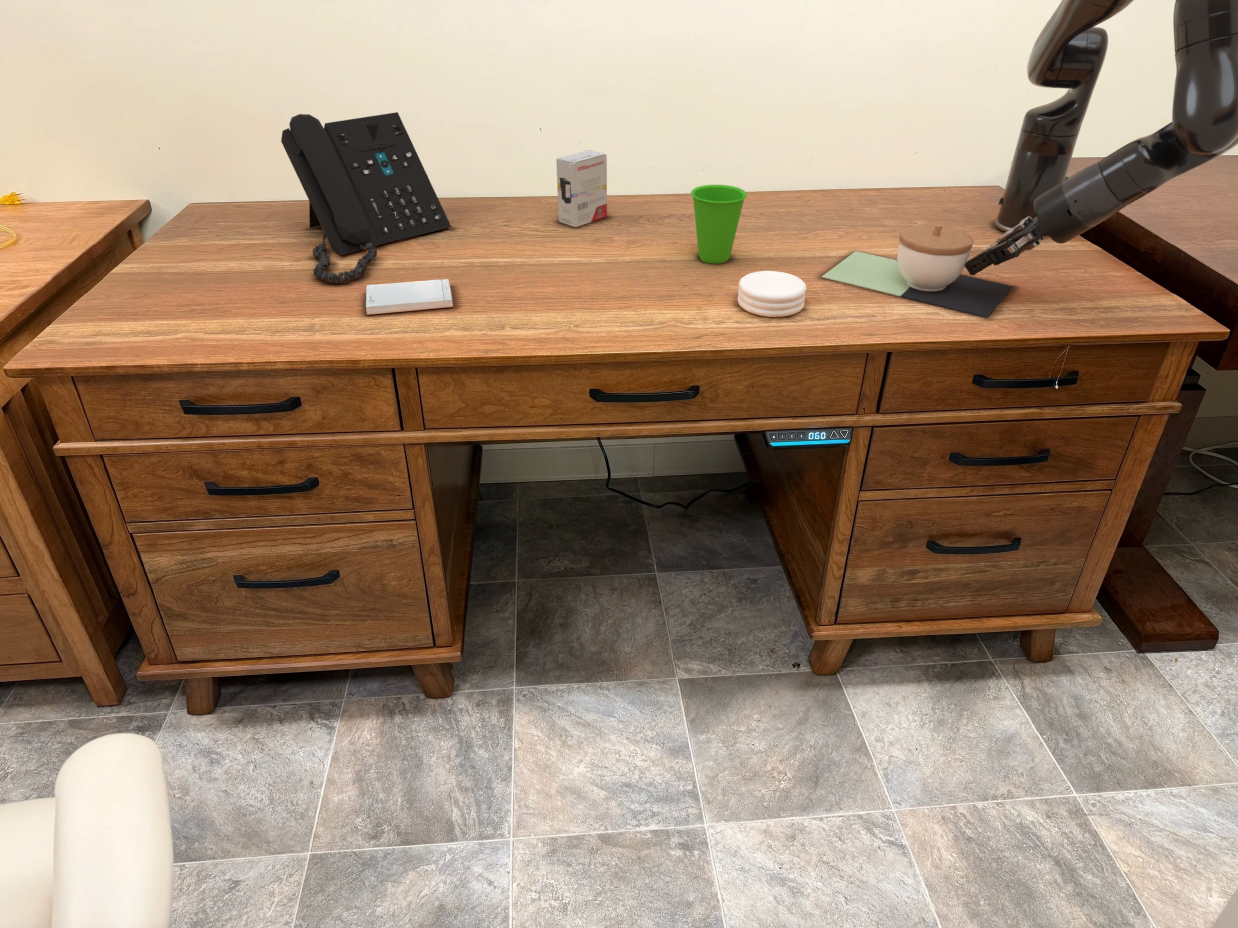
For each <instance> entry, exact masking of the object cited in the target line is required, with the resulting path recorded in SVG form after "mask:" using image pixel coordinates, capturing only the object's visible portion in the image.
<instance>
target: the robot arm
mask: <svg viewBox="0 0 1238 928" xmlns="http://www.w3.org/2000/svg"><path fill="white" fill-rule="evenodd" d="M1134 1H1135V0H1061V1H1060V3H1059V5H1058V6H1057V7H1056V8H1055V10H1054V11H1053V13H1052V15H1051V16H1050V18H1049V19H1048V21H1046V23H1045V25H1044V26H1043V28H1042V29H1041V31H1040V33H1039V34H1038V36H1037V38H1036V40H1035V41H1034V43H1033V46H1032V48H1031V52H1030V53H1029V57H1028V60H1027V65H1026V67H1027V68H1026V75H1027V76H1026V77H1027V78H1028V81H1029V82H1030V83H1031V84H1032V85H1034V86H1035V87H1040V88H1048V89H1049V88H1050V89H1065V90H1066V89H1067V90H1066V92H1065V93H1064V94H1063V95H1062V96H1061V97H1059V98H1057V99H1055V100H1053V101H1051V102H1049V103H1046V104H1043V105H1039V106H1035V107H1033V108H1030V109H1029V110H1027V111H1026V112H1025V113H1024V115H1023V119H1022V123H1021V126H1020V127H1021V128H1020V129H1019V130H1020V131H1019V134H1018V137H1017V141H1016V146H1015V150H1014V154H1013V157H1012V160H1011V166H1010V169H1009V172H1008V176H1007V179H1006V184H1005V186H1004V191H1003V195H1002V197H1001V198H999V200H998V206H999V210H998V214H997V217H996V219H995V222H994V226H995V227H996V228H997V229H999V230H1000V231H1002V232H1004V233H1003V234H1002V235H1001V236H1000V237H999V238H996V241H995V242H994V243H991V244H989V246H988V247H987V248H986V249H985V250H983V251H982V252H980V253H977V255H975V256H973V257H971V258H969V259H968V260H967V262H966V263H965V267H964V269H965V270H966V271H967V272H968V275H971V276H975V275H977V274H978V273H981V272H982V271H984V270H986V269H987V268H988V267H991V266H992V265H993V266H994V267H995V266H999V265H1001V264H1003V263H1005V262H1007V261H1011V260H1012V259H1014V258H1018V257H1020V255H1022V254H1023V253H1024V252H1026V251H1031V250H1033V249H1035V248H1036V247H1038V246H1039V245H1040V244H1041V242H1042V241H1043V240H1045V237H1046V236H1047V237H1049V238H1051V241H1053V242H1055V243H1057V244H1059V245H1062V244H1066V243H1068V242H1070V241H1071V240H1073V239H1075V238H1077V237H1078V236H1080V235H1082V234H1084V233H1085V232H1087V231H1089V230H1091V229H1092V228H1094V227H1096V226H1097V225H1099V224H1101V223H1103V222H1105V221H1107V220H1108V219H1110V218H1111V217H1113V216H1114V215H1116V214H1117V213H1119V212H1120V211H1122V209H1125V208H1126V207H1127V206H1129V205H1131V204H1132V203H1135V202H1136V201H1138V200H1139V199H1141V198H1144V196H1146V195H1149V194H1151V193H1152V192H1154V191H1155V190H1157V189H1158V188H1159V187H1161V186H1163V185H1164V184H1166V183H1167V182H1169V181H1171V180H1172V179H1174V178H1177V177H1178V176H1182V175H1183V174H1185V173H1188V172H1189V171H1191V170H1194V169H1196V168H1199V167H1200V166H1201V165H1204V164H1207V163H1208V162H1210V161H1212V160H1214V159H1216V158H1217V157H1220V156H1222V155H1223V154H1225V153H1227V152H1229V151H1230V150H1232V149H1233V148H1235V147H1236V146H1238V0H1175V2H1174V5H1173V14H1172V23H1173V45H1174V60H1175V69H1176V72H1175V79H1174V87H1173V96H1172V98H1173V100H1172V110H1171V111H1172V112H1171V121H1170V122H1169V123H1168V124H1166V125H1164V126H1163V127H1161V128H1159V129H1157V131H1154V132H1152V133H1151V134H1148V135H1146V136H1141V137H1138V138H1136V139H1134V140H1132V141H1130V142H1128V143H1126V144H1125V145H1123V146H1121V147H1120V148H1117V149H1116V150H1115V151H1113V152H1111V153H1110V154H1108V155H1107V156H1105V157H1103V158H1102V159H1100V160H1098V161H1097V162H1094V163H1093V164H1091V165H1088V166H1087V167H1084V168H1083V169H1081V170H1079V171H1077V172H1076V173H1074V174H1073V175H1071V176H1067V175H1068V170H1069V167H1070V164H1071V161H1072V157H1073V154H1074V151H1075V147H1076V143H1077V140H1078V136H1079V135H1080V131H1081V128H1082V125H1083V123H1084V120H1085V117H1086V114H1087V111H1088V108H1089V105H1090V102H1091V98H1092V97H1093V96H1092V95H1093V93H1094V90H1095V88H1096V84H1097V82H1098V80H1099V77H1100V74H1101V72H1102V68H1103V65H1104V62H1105V60H1106V56H1107V52H1108V49H1109V48H1108V47H1109V34H1108V31H1107V30H1106V29H1105V28H1103V27H1099V26H1098V25H1100V24H1102V23H1104V22H1106V21H1108V20H1109V19H1111V18H1112V17H1114V16H1116V15H1117V14H1119V13H1121V12H1122V11H1124V10H1125V9H1126V8H1127V7H1129V5H1131V4H1132V3H1133V2H1134Z"/></svg>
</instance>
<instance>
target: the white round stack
mask: <svg viewBox="0 0 1238 928" xmlns="http://www.w3.org/2000/svg"><path fill="white" fill-rule="evenodd" d="M806 292H807V284H806V283H805V282H804V281H803V280H802V279H801V278H800V277H798V276H796V275H794V274H791V273H787V272H783V271H777V270H759V271H753V272H750V273H748V274H746V275H744V276H743V277H742V278H740V279H739V282H738V289H737V294H738V295H737V297H736V298H737V303H738V305H739V306H740V307H741V308H742V310H744V311H746V312H748V313H750V314H752V315H757V316H761V317H765V318H766V317H767V318H783V317H790V316H793V315H796V314H798V313H799V312H801V311H802V310H803V308H804V307H805V300H806V297H807V295H806Z"/></svg>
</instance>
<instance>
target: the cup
mask: <svg viewBox="0 0 1238 928" xmlns="http://www.w3.org/2000/svg"><path fill="white" fill-rule="evenodd" d="M690 195H691V197H692V199H693V210H694V220H695V231H696V241H697V242H696V243H697V252H698V258H699V260H700V261H701V262H704V263H706V264H707V263H708V264H723V263H726V262H728V261H729V260H730V257H731V254H732V250H733V246H734V242H735V238H736V233H737V230H738V226H739V222H740V218H741V213H742V209H743V205H744V202H745V199H746V198H747V197H748V193H747V191H746V190H744V189H743V188H740V187H737V186H734V185H729V184H728V185H727V184H705V185H704V184H703V185H700V186H696V187H694V188H692V190H691V191H690Z"/></svg>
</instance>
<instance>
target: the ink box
mask: <svg viewBox="0 0 1238 928" xmlns="http://www.w3.org/2000/svg"><path fill="white" fill-rule="evenodd" d="M607 160H608V159H607V154H606V153H604V152H601V151H596V150H592V149H587V150H583V151H579V152H575V153H572V154H569V155H568V154H567V155H564V156H560V157H557V158H556V161H555V162H556V185H557V213H558V223H561V224H564V225H567V226H569V227H573V228H579V227H581V226H584V225H587V224H590V223H593V222H596V221H598V220H601V219H605V218H607V217H608V185H607V184H608V181H607V180H608V170H607V169H608V168H607V167H608V165H607V163H608V161H607Z"/></svg>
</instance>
